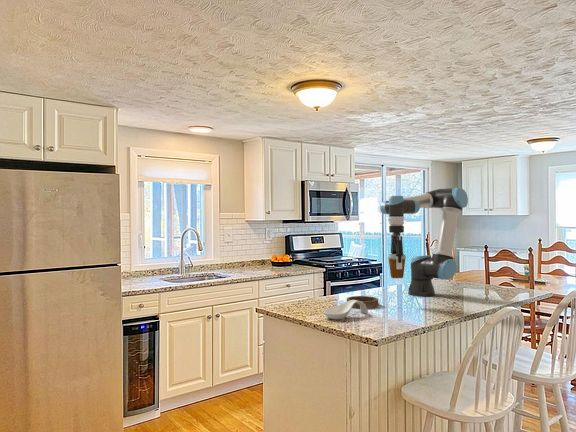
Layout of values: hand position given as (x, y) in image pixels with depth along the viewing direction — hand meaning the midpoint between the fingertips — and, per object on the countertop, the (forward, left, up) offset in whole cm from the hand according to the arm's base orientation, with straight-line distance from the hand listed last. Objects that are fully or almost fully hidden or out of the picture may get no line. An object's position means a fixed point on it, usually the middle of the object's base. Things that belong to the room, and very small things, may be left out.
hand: (396, 267), depth 229 cm
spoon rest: (+39, -3, -20) cm, 44 cm away
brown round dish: (+13, -13, -19) cm, 27 cm away
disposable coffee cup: (0, 0, -5) cm, 5 cm away
